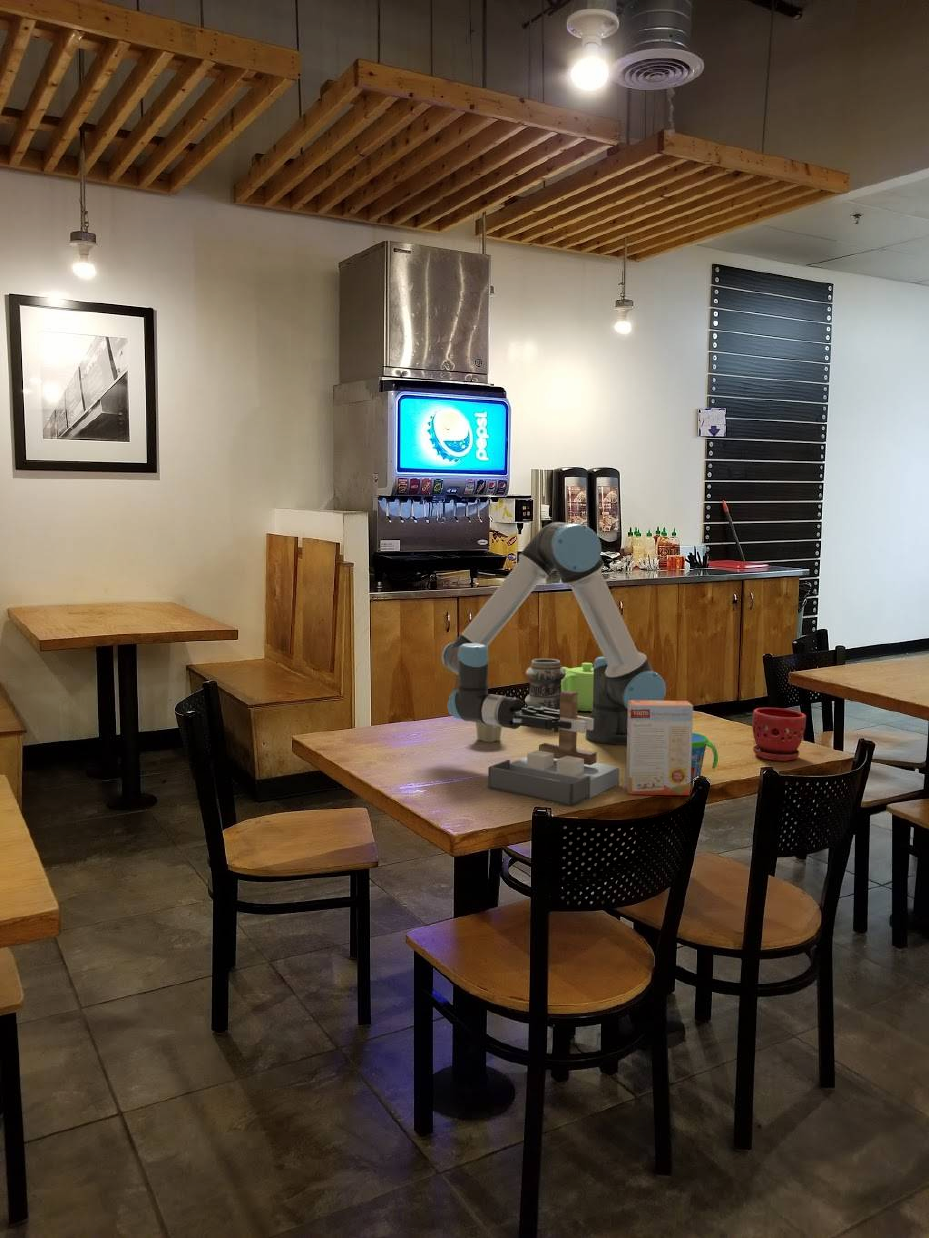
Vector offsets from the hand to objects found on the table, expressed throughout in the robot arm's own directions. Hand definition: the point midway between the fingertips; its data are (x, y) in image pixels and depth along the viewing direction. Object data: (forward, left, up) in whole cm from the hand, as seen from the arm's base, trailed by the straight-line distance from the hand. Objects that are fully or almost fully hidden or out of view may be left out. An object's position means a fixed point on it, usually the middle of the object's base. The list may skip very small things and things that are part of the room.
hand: (588, 725), depth 232 cm
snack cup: (-19, +16, -14) cm, 28 cm away
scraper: (0, -5, -9) cm, 10 cm away
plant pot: (-53, +27, -14) cm, 61 cm away
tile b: (+6, -1, -10) cm, 12 cm away
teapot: (-76, -41, -14) cm, 87 cm away
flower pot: (-21, -42, -14) cm, 49 cm away
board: (+2, -5, -14) cm, 15 cm away
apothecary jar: (-52, -43, -14) cm, 69 cm away
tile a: (+6, -9, -10) cm, 15 cm away
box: (+13, -5, -14) cm, 20 cm away
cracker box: (-5, +16, -14) cm, 22 cm away
